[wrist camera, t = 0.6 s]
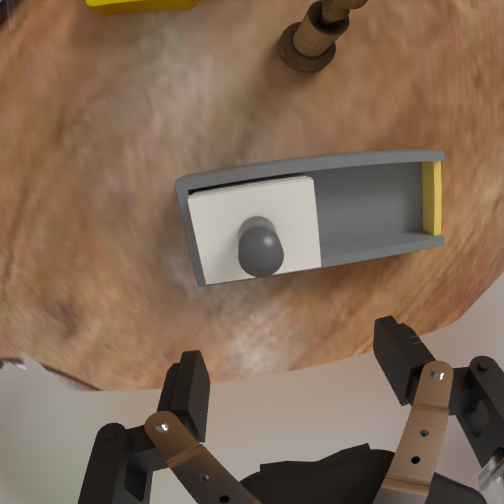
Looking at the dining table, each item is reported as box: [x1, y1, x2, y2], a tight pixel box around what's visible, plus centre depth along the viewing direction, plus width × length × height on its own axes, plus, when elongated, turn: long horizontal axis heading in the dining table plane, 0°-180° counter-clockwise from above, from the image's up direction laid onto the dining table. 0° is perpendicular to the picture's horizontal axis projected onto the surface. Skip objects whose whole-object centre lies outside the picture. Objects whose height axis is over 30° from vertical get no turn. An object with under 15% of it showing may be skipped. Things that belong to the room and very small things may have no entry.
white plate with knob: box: [188, 173, 321, 285], centre depth 30 cm, size 9×12×13 cm
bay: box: [174, 149, 445, 287], centre depth 35 cm, size 12×32×5 cm, turn 99°
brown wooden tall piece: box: [278, 0, 367, 72], centre depth 22 cm, size 7×6×18 cm
